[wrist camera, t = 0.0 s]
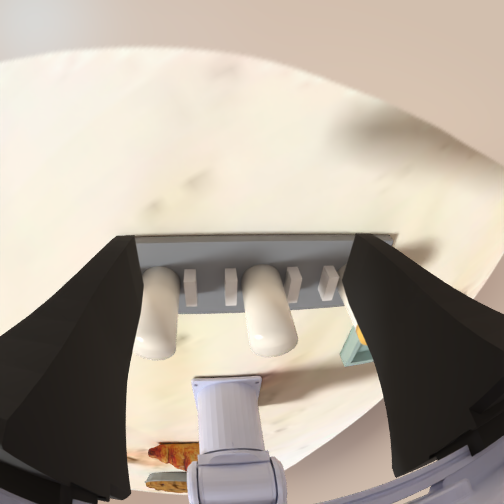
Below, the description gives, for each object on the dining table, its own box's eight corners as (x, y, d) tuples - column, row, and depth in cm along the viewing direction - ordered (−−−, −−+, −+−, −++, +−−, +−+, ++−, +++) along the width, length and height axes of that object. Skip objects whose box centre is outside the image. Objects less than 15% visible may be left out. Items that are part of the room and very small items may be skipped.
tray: (397, 344, 33) (402, 355, 32) (339, 354, 32) (344, 366, 30) (424, 297, 28) (432, 308, 27) (362, 304, 27) (368, 318, 26)
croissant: (254, 431, 53) (267, 456, 45) (242, 461, 54) (253, 486, 46) (149, 424, 46) (150, 453, 38) (145, 456, 47) (147, 484, 39)
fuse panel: (365, 297, 27) (374, 314, 25) (133, 306, 24) (129, 326, 22) (389, 235, 23) (401, 250, 21) (116, 237, 20) (109, 255, 18)
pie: (130, 470, 63) (129, 485, 59) (192, 468, 60) (193, 484, 56) (173, 483, 75) (174, 496, 71) (230, 479, 72) (232, 492, 68)
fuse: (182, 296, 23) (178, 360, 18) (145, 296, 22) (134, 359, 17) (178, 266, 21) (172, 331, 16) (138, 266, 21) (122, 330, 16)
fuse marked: (361, 289, 25) (389, 342, 20) (329, 291, 24) (353, 348, 19) (372, 260, 23) (405, 313, 18) (338, 261, 22) (368, 318, 18)
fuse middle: (277, 293, 24) (293, 355, 19) (240, 295, 23) (248, 358, 18) (282, 263, 22) (302, 326, 17) (241, 264, 22) (251, 329, 17)
